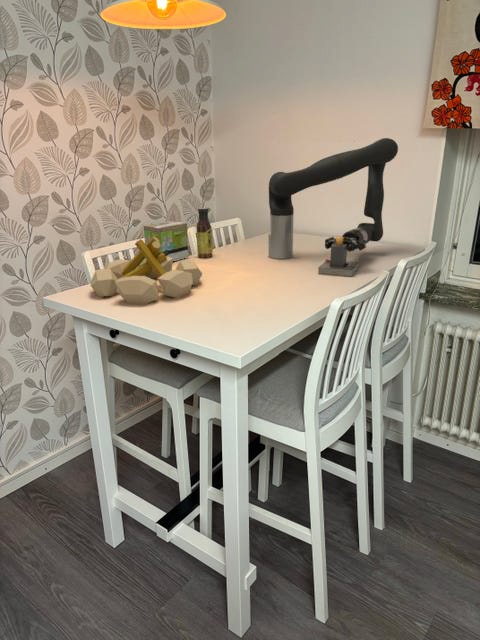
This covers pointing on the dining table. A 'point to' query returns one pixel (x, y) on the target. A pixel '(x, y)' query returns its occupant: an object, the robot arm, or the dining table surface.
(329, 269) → the socket
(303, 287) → the dining table surface
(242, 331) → the dining table surface
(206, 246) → the sauce bottle
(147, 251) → the campfire
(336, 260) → the plug
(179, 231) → the tea box
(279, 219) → the robot arm
